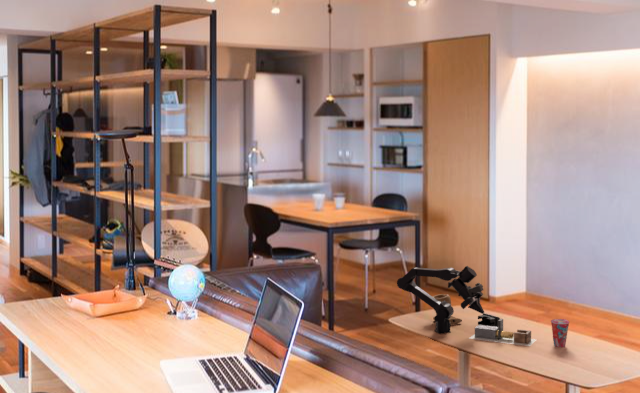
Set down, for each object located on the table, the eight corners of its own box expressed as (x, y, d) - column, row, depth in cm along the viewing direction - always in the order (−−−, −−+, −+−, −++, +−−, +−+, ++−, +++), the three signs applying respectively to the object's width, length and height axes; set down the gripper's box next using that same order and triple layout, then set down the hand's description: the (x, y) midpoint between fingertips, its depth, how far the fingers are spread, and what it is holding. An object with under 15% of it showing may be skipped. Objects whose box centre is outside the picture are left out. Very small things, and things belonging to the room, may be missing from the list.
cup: (569, 349, 374) (570, 323, 373) (551, 348, 376) (551, 323, 375) (567, 343, 383) (568, 318, 382) (549, 342, 385) (549, 318, 384)
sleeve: (474, 337, 395) (474, 327, 395) (478, 334, 401) (478, 324, 400) (495, 339, 390) (495, 330, 389) (499, 336, 395) (499, 327, 395)
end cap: (501, 329, 411) (501, 316, 411) (491, 331, 407) (491, 318, 407) (487, 325, 420) (487, 312, 419) (477, 327, 416) (477, 314, 415)
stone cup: (427, 321, 429) (427, 293, 428) (445, 318, 435) (445, 291, 433) (444, 327, 416) (444, 298, 414) (462, 324, 422) (463, 296, 420)
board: (468, 338, 393) (468, 338, 393) (477, 332, 404) (477, 332, 404) (529, 346, 378) (529, 346, 378) (536, 340, 390) (536, 339, 390)
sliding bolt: (477, 336, 395) (477, 318, 395) (480, 334, 399) (480, 316, 398) (511, 340, 387) (511, 322, 386) (514, 338, 391) (514, 320, 390)
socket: (513, 342, 385) (513, 332, 385) (517, 338, 391) (517, 329, 391) (527, 344, 382) (527, 334, 382) (531, 340, 388) (531, 330, 388)
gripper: (467, 282, 388) (489, 306, 384) (479, 275, 404) (500, 299, 400) (451, 296, 393) (473, 321, 388) (464, 289, 409) (485, 312, 404)
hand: (483, 313), depth 395 cm, fingers closed
